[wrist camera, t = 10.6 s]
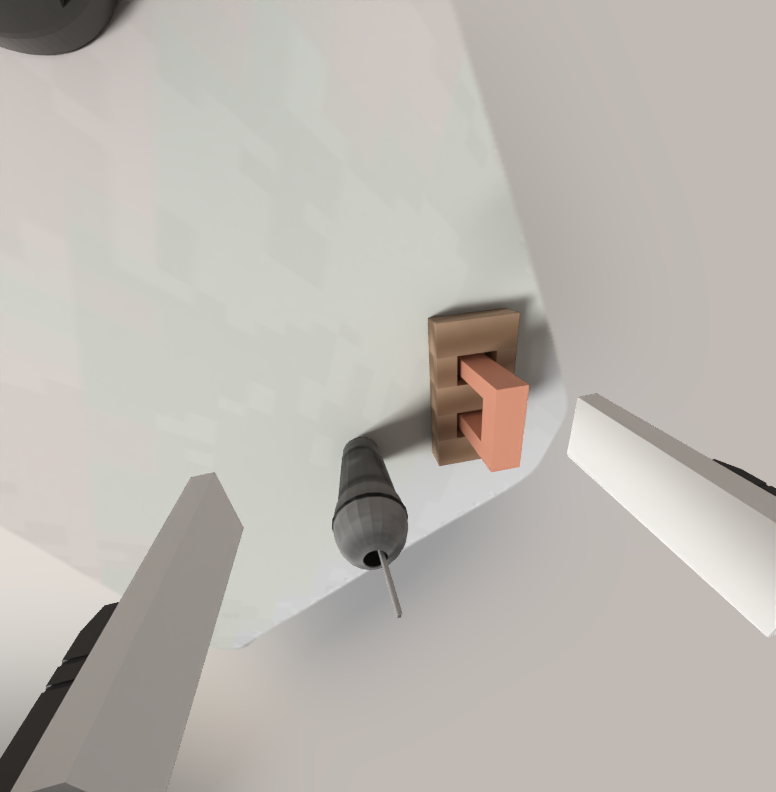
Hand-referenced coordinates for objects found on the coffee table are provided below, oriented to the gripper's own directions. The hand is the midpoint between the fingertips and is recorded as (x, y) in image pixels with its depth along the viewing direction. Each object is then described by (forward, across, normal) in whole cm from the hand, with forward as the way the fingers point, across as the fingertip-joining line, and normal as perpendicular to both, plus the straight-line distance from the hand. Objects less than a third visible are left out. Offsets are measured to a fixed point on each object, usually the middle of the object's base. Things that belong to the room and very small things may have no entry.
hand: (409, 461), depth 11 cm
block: (+24, +12, -11) cm, 28 cm away
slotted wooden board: (+24, +12, -11) cm, 28 cm away
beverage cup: (+24, -2, -17) cm, 29 cm away
